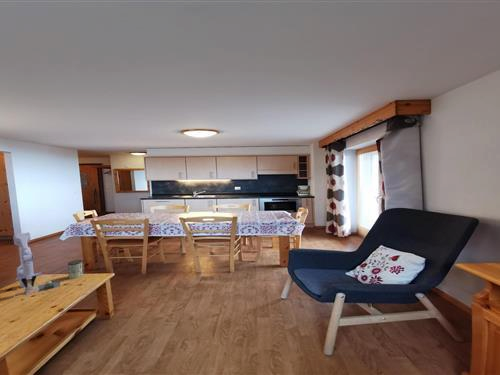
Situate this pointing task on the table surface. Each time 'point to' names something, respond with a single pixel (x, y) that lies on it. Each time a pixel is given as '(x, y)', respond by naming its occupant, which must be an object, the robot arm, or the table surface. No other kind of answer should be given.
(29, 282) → the marker
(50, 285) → the button housing
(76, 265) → the coffee can
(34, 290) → the activity board
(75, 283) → the table surface
